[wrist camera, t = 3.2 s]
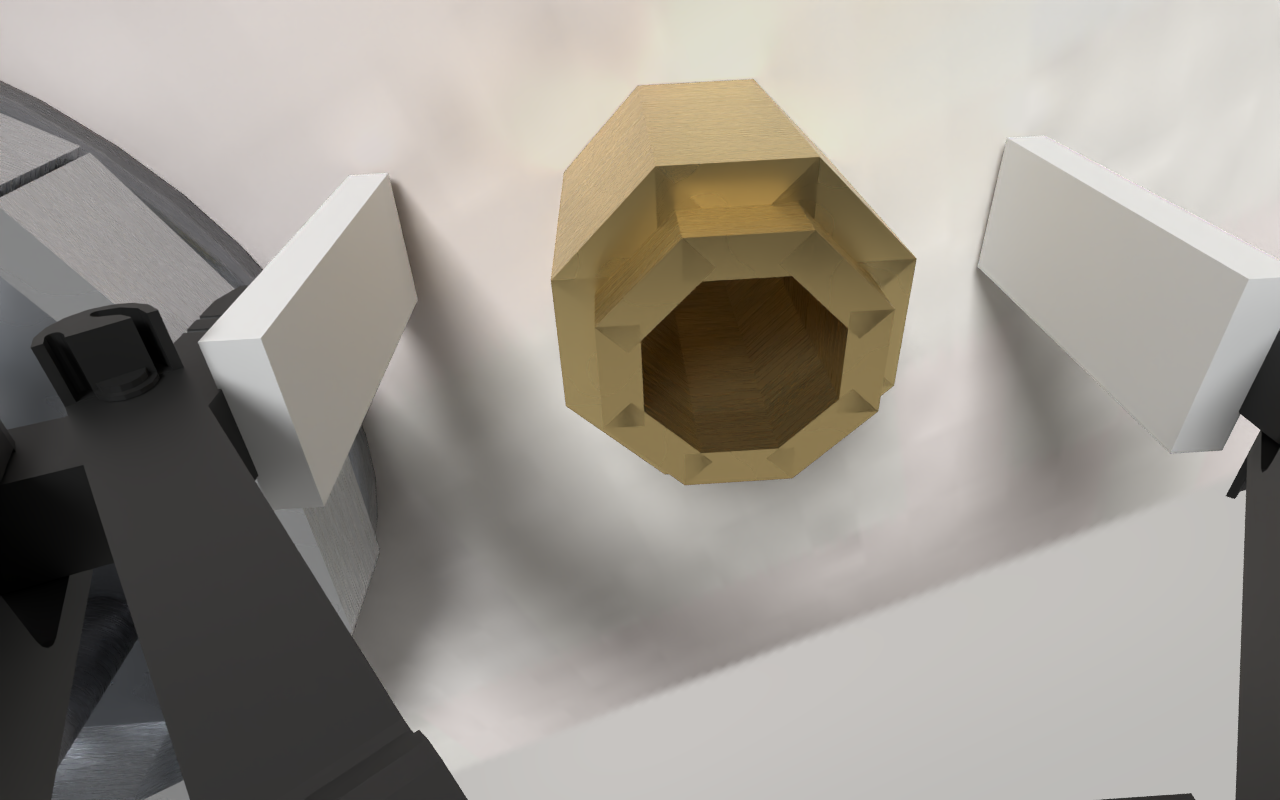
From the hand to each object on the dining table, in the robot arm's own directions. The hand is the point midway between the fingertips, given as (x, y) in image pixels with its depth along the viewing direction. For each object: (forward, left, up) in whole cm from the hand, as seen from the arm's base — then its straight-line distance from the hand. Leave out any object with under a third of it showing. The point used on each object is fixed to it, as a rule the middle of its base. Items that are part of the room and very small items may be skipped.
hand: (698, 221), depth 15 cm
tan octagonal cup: (0, 0, 0) cm, 0 cm away
